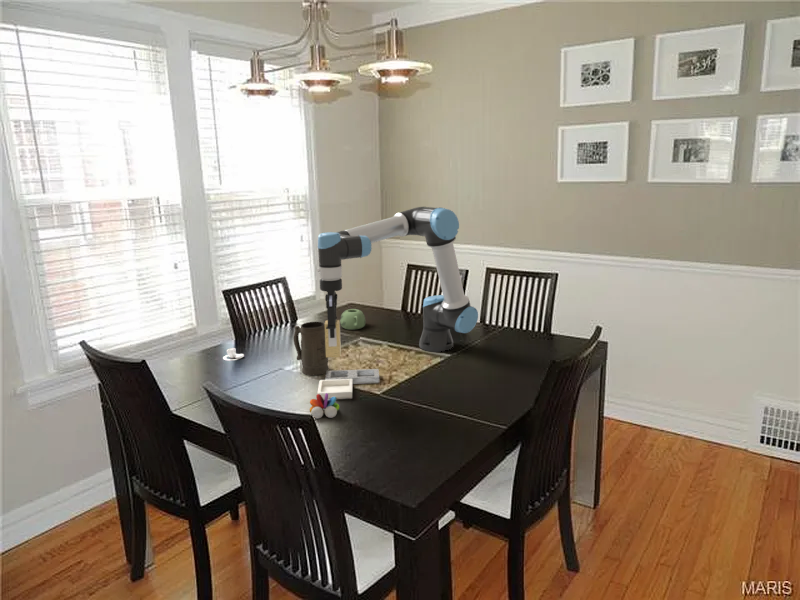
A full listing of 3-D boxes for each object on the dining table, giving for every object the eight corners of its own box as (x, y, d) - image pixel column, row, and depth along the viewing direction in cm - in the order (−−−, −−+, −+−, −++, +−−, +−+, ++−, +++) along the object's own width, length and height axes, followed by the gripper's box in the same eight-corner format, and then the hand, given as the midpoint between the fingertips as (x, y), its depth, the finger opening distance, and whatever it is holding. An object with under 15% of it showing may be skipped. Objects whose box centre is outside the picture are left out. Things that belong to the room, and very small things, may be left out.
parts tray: (352, 385, 200) (352, 378, 200) (352, 398, 188) (352, 391, 188) (319, 386, 199) (319, 380, 199) (317, 400, 188) (317, 393, 187)
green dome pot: (337, 325, 276) (337, 308, 274) (362, 322, 280) (361, 306, 278) (345, 333, 261) (344, 316, 259) (370, 331, 265) (370, 314, 263)
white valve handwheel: (247, 358, 231) (246, 349, 230) (230, 363, 225) (229, 354, 224) (236, 353, 236) (235, 344, 235) (219, 358, 231) (218, 349, 230)
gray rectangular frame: (378, 374, 210) (378, 368, 209) (379, 382, 202) (379, 376, 201) (326, 376, 208) (326, 370, 208) (325, 385, 200) (325, 378, 200)
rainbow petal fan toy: (310, 409, 181) (309, 389, 179) (339, 407, 182) (339, 387, 180) (308, 420, 173) (307, 399, 171) (339, 419, 174) (338, 398, 172)
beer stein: (334, 367, 217) (329, 320, 213) (322, 377, 208) (317, 328, 204) (302, 365, 223) (296, 320, 218) (288, 375, 213) (282, 327, 209)
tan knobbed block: (340, 352, 193) (339, 319, 190) (340, 356, 188) (339, 323, 185) (326, 352, 193) (325, 319, 190) (325, 357, 188) (324, 323, 185)
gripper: (321, 273, 192) (324, 335, 198) (317, 284, 175) (320, 352, 180) (342, 273, 193) (344, 335, 198) (340, 283, 175) (343, 351, 181)
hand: (333, 343), depth 189 cm, fingers closed on tan knobbed block, 5 cm apart
